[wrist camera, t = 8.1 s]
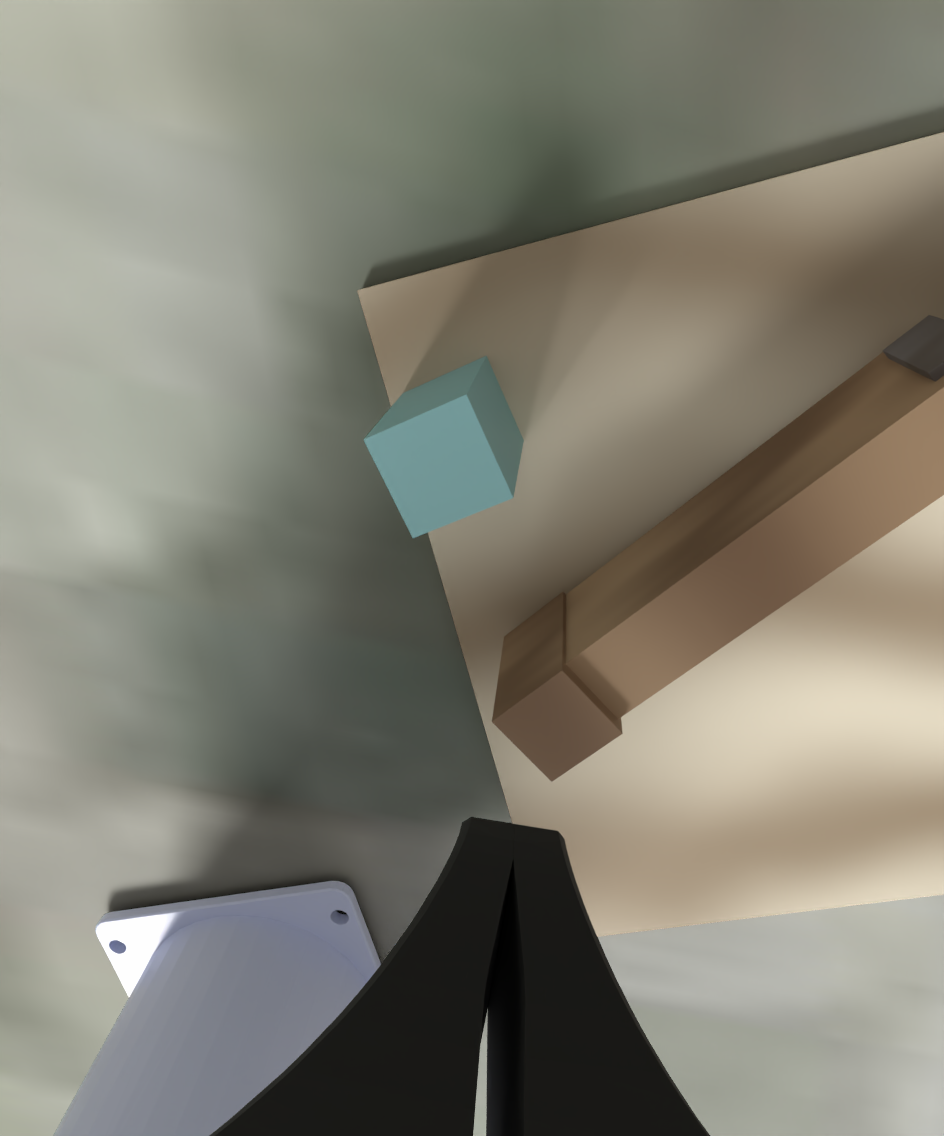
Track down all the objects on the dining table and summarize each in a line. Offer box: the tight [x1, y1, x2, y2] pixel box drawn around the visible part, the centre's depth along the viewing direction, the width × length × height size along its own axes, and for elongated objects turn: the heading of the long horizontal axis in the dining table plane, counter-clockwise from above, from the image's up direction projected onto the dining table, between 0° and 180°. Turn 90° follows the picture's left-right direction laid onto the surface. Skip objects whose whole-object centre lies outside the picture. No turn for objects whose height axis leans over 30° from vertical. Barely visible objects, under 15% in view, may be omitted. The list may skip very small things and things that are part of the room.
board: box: [357, 132, 944, 937], centre depth 21 cm, size 18×16×1 cm
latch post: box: [363, 356, 524, 538], centre depth 18 cm, size 2×2×4 cm
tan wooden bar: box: [492, 315, 944, 782], centre depth 18 cm, size 11×2×4 cm, turn 133°
